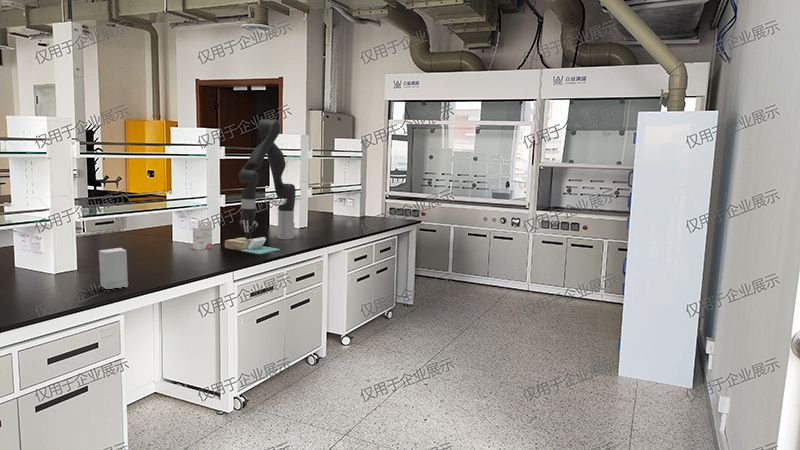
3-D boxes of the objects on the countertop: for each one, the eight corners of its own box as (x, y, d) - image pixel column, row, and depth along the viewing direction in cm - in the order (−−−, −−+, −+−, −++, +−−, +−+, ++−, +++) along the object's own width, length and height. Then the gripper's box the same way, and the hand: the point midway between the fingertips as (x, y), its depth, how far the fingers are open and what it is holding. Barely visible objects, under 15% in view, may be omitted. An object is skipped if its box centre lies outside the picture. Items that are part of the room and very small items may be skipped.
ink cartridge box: (206, 246, 299) (206, 219, 297) (212, 248, 296) (212, 221, 294) (192, 248, 293) (192, 221, 291) (197, 250, 290) (197, 222, 288)
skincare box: (122, 284, 217) (121, 247, 215) (128, 287, 213) (127, 249, 211) (99, 287, 211) (98, 249, 209) (105, 291, 207) (104, 252, 205)
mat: (261, 246, 307) (261, 245, 307) (280, 249, 301) (280, 248, 301) (241, 251, 293) (241, 250, 293) (260, 254, 287) (260, 253, 287)
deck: (243, 244, 312) (243, 237, 311) (259, 247, 306) (259, 239, 306) (224, 247, 299) (224, 240, 299) (241, 250, 294) (241, 243, 293)
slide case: (264, 236, 301) (266, 239, 301) (259, 245, 303) (261, 247, 303) (252, 238, 293) (255, 241, 293) (247, 247, 295) (249, 249, 295)
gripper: (262, 208, 298) (262, 239, 301) (244, 205, 304) (243, 237, 307) (252, 209, 292) (252, 241, 294) (234, 206, 298) (233, 238, 300)
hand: (248, 239), depth 300 cm, fingers closed
